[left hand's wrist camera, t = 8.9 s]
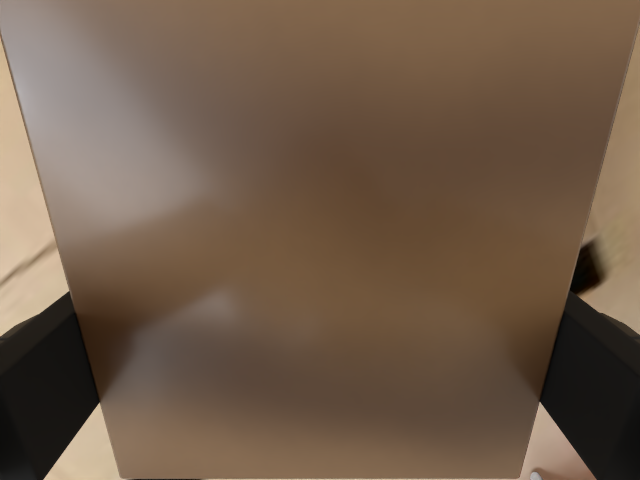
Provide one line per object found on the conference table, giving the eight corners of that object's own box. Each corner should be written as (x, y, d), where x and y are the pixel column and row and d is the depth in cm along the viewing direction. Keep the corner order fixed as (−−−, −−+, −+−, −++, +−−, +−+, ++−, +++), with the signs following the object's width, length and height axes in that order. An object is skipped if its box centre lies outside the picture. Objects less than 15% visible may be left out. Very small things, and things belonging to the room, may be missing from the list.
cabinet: (137, -223, 12) (-276, -959, 4) (499, -224, 11) (907, -968, 4) (206, 316, 18) (119, 480, 10) (433, 315, 18) (520, 480, 10)
